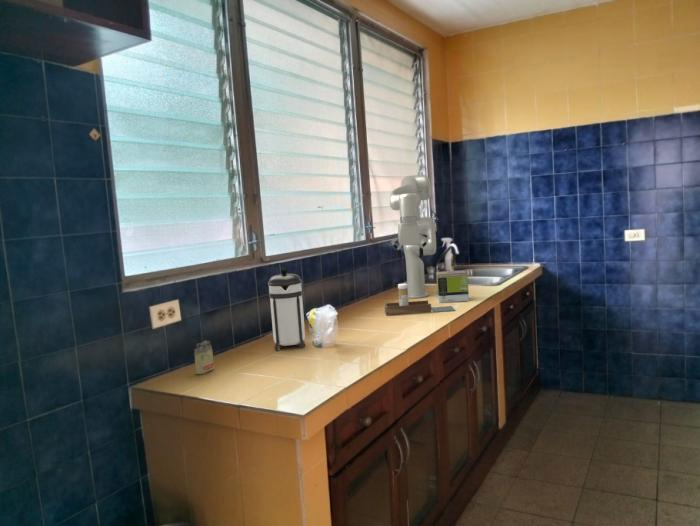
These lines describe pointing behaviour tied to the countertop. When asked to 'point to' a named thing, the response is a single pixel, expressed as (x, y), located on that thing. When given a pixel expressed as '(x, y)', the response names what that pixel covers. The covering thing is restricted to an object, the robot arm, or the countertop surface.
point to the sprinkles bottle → (403, 294)
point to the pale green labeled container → (204, 358)
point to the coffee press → (287, 309)
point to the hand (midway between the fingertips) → (410, 257)
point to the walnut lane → (407, 308)
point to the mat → (442, 309)
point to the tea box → (452, 286)
